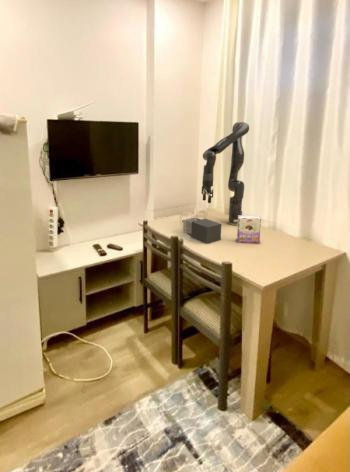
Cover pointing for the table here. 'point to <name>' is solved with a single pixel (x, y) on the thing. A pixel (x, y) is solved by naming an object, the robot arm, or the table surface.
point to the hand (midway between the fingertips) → (206, 201)
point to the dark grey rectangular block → (206, 230)
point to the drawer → (188, 224)
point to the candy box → (248, 229)
